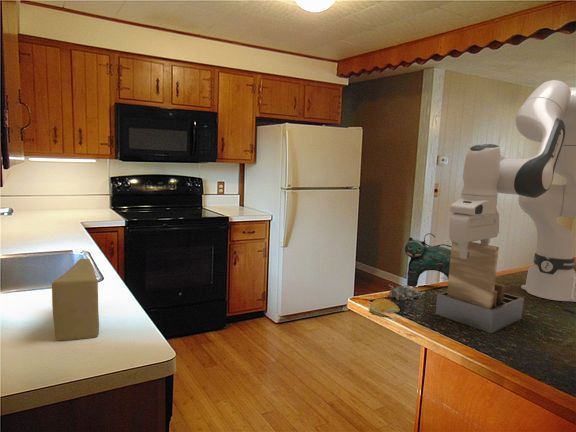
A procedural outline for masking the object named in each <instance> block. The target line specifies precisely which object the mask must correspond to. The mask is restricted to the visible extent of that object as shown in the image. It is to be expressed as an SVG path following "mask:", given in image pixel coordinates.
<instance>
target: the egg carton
mask: <svg viewBox="0 0 576 432" xmlns="http://www.w3.org/2000/svg"><path fill="white" fill-rule="evenodd" d="M388 287H389V288H390V290H389V297H390V298H394V297H395V300H396V301H399V300H400V301H404V300H410V301H413V300H414V299H419V300H421V299H423V298H422V296H423V294H424V292H421V291H419V290H417V289H414V288H413V287H411V286H407V285H403V286H396V287H394V286H393V285H391V284H388Z"/></svg>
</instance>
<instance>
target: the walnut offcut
mask: <svg viewBox="0 0 576 432" xmlns="http://www.w3.org/2000/svg"><path fill="white" fill-rule="evenodd" d="M505 288H506V285H505V284H502V283H498V282H495V287H494V291H497V299H496V300H498V301H501V302H503V300H504V293H505V290H506V289H505Z"/></svg>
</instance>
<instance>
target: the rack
mask: <svg viewBox="0 0 576 432" xmlns="http://www.w3.org/2000/svg"><path fill="white" fill-rule="evenodd" d="M436 295H437V296H436V307H435V315H437V316H440V317H442V318H446V319H448V320H452V321H455V322H457V323H459V324H464V325H466V326H469V327H472V328H474V329H477V330H480V331H483V332H486V333H489V334H492V333H494V332H495V333H496V332H497V331H498V330H501V329H503V328H505V327H507V326H509V325H511V324H514V323H515V322H518V321H519V320H521V319H523V309H524V301H525V298H524V297H521V296H518V295H513V294H509V293H506V292H504V300H503V302H501V301H498V300H496V305H494V304H493V306H492V309H489V308H486V307H482V306H479V305H476V304H472V303H469V302H466V301H462V300H459V299H456V298H452V297H449V296H447V290H446V291H443V292H439V293H437V294H436Z"/></svg>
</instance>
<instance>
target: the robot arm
mask: <svg viewBox="0 0 576 432" xmlns="http://www.w3.org/2000/svg"><path fill="white" fill-rule="evenodd" d="M515 126H516V128H517V130H518V132H519V133H520V134H521V135H522V136H523V137H524V138H526V139H528V140H530V141H534V142H537V143H540V144H539V146H538V149H537V153H536V155H534V156H531V157H527V158H519V157H518V158H510V157H509V158H508V157H506V156H504V155H502V154H501V147H500V146H499V145H498V144H492V143H488V144H487V143H485V144H477V145H472V146H471V147H469V148H468V150H467V153H466V155H465V160H464V165H463V172H462V173H463V174H462V179H463V180H462V181H463V188H462V190H461V195H460V196H461V197H459V198H458V199H457V200H456V201H455V202H453V203H451V204H450V207H449V208H450V209H449V210H450V213H452V214H451V216H450V219H449V229H448V232H449V233H448V236H449V240H450V241H451V243H452V242H456V243H458V247H459V250H460V258H463V259H466V258H469V252H468V249H467V246H468V244H469V242H478V241H480V242H479V243H480V244H485V245H490V241H491V239H492V238H497V237H498V235H499V234H500V233H499V232H500V213H499V212H498V209H497V206H498V197H499V196H498V195H499V194H505V195H506V194H507V195H513V196H514V195H517V196H518V197H517V198H518V199H517V201H518V205H519V207H520V209H521V210H522V211H523V212H524V213H526V214H527V215H528V217H530V219H531V220H532V221H533V223H534V225H535V228H536V234H537V235H536V236H537V238H536V239H537V240H536V252H535V253H534V256H533V265H531V266H530V267H528V270H527V274H526V280H525V284H521V287H520V288H521V289H522V290H525V292H527V293H528V294H529V295H532V296H535V297H538V298H543V299H546V300H551V301H559V302H560V301H561V302H575V303H576V270H575V269H574V268H575V266H576V256H575V249H576V236H575V233H574V232H573V231H572V230H570V229H569V228H567V227H565V226H563V225H561V224H559V223H558V221H557V218H559V217H561V218H574V219H576V86H571V87H570V86H569V85H568V84H567V83H566V82H563V81H562V80H556V79H553V80H547V81H545V82H543V83H541V84H540V85H539V86H538V87H536V88H535V89H534V90H533V92H532V93H530V95H529V96H528V97H527V98H526V100H525V101H524V102H523V104H522V105H521V106H520V108H519V110H518V111H517V113H516V116H515ZM555 174H556V175H558V176H561V177H562V178H564V179H565V180H566V183H565V184H555V183H553V180H554V175H555ZM498 193H499V194H498Z"/></svg>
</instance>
